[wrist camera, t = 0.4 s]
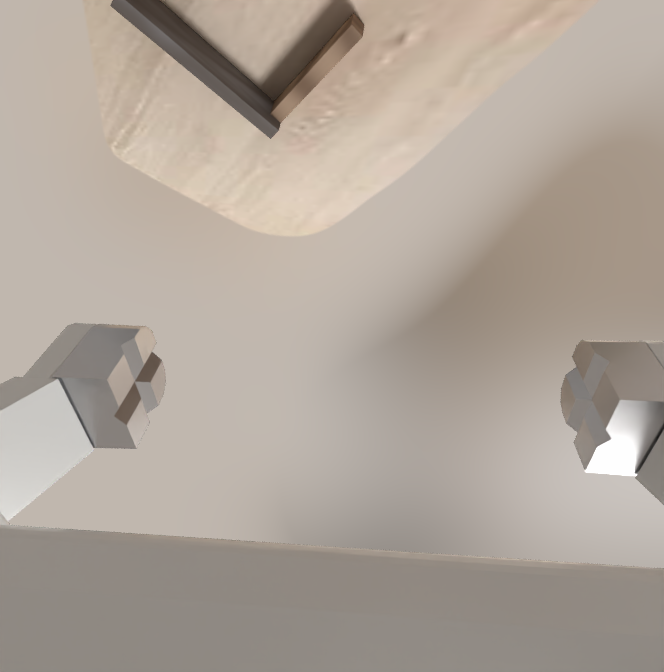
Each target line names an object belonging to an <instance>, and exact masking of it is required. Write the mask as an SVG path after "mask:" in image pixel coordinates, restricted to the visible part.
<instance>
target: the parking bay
mask: <svg viewBox="0 0 664 672" xmlns="http://www.w3.org/2000/svg"><path fill="white" fill-rule="evenodd" d="M110 6H111V7H112V8H114V9H115V10H116V11H117V12H118V13H120V14H121V15H122V16H123V17H125V18H126V19H127V20H128V21H129V22H131V23H132V24H133V25H134V26H135V27H137V28H138V29H139V30H140V31H141V32H143V33H144V34H145V35H146V36H147V37H149V38H150V39H151V40H152V41H153V42H155V43H156V44H157V45H158V46H159V47H161V48H162V49H163V50H164V51H165V52H167V53H168V54H169V55H170V56H171V57H173V58H174V59H175V60H176V61H177V62H179V63H180V64H181V65H182V66H184V67H185V68H186V69H187V70H188V71H190V72H191V73H192V74H193V75H194V76H196V77H197V78H198V79H199V80H200V81H202V82H203V83H204V84H205V85H206V86H208V87H209V88H210V89H211V90H212V91H214V92H215V93H216V94H217V95H218V96H220V97H221V98H222V99H223V100H224V101H226V102H227V103H228V104H229V105H230V106H232V107H233V108H234V109H235V110H237V111H238V112H239V113H240V114H241V115H243V116H244V117H245V118H246V119H247V120H249V121H250V122H251V123H252V124H253V125H255V126H256V127H257V128H258V129H259V130H261V131H262V132H263V133H264V134H265V135H267V136H268V137H269V138H270V139H271V138H272V137H273V136H274V135H275V134H276V133H277V132H278V131H279V127H280V124H281V122H282V121H283V120H284V119H285V118H286V117H287V116H288V115H289V114H290V113H291V112H292V111H293V109H294V108H295V107H296V106H297V105H298V104H299V103H300V102H301V101H302V100H303V99H304V98H305V97H306V96H307V95H308V94H309V93H310V92H311V90H312V89H313V88H314V87H315V86H316V85H317V84H318V83H319V82H320V81H321V80H322V79H323V78H324V77H325V76H326V75H327V74H328V73H329V72H330V70H331V69H332V68H333V67H334V66H335V65H336V64H337V63H338V62H339V61H340V60H341V59H342V58H343V57H344V56H345V55H346V54H347V53H348V51H349V50H350V49H351V48H352V47H353V46H354V45H355V44H356V43H357V42H358V41H359V40H360V39H361V38H362V37H363V30H364V24H363V23H362V22H361V21H360V20H359V19H358V17H357V16H356V15H355V14H354V13H353V14H352V15H351V16H350V18H349V19H348V20H347V21H346V22H345V23H344V24H343V25H342V27H341V28H340V29H339V30H338V31H337V32H336V33H335V34H334V35H333V37H332V38H331V39H330V40H329V41H328V42H327V43H326V44H325V45H324V47H323V48H322V49H321V50H320V51H319V52H318V53H317V54H316V56H315V57H314V58H313V59H312V60H311V61H310V62H309V63H308V64H307V66H306V67H305V68H304V69H303V70H302V71H301V72H300V73H299V74H298V76H297V77H296V78H295V79H294V80H293V81H292V82H291V83H290V85H289V86H288V87H287V88H286V89H285V90H284V91H283V92H282V93H281V95H280V96H279V97H278V98H277V99H276V100H275V101H272V100H271V99H270V98H269V97H268V96H267V95H266V94H264V93H263V92H262V91H261V90H260V89H259V88H258V87H257V86H255V85H254V84H253V83H252V82H251V81H250V80H249V79H248V78H246V77H245V76H244V75H243V74H242V73H241V72H240V71H238V70H237V69H236V68H235V67H234V66H233V65H232V64H231V63H229V62H228V61H227V60H226V59H225V58H224V57H223V56H221V55H220V54H219V53H218V52H217V51H216V50H215V49H214V48H212V47H211V46H210V45H209V44H208V43H207V42H206V41H205V40H203V39H202V38H201V37H200V36H199V35H198V34H197V33H195V32H194V31H193V30H192V29H191V28H190V27H189V26H188V25H186V24H185V23H184V22H183V21H182V20H181V19H180V18H179V17H177V16H176V15H175V14H174V13H173V12H172V11H171V10H169V9H168V8H167V7H166V6H165V5H164V4H163V3H162V2H160V1H159V0H113V1H112V3H111V5H110Z"/></svg>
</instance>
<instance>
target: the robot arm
mask: <svg viewBox="0 0 664 672" xmlns="http://www.w3.org/2000/svg"><path fill="white" fill-rule="evenodd" d="M155 345H156V341H155V338H154V335H153V332H152V330H151V329H149V328H148V327H145V326H128V325H109V324H108V325H107V324H83V323H74V324H71V325H68V326H67V327H66V328H65V329H64V330H63V331H62V332H61V333H60V335H59V336H58V337H57V338H56V339H55V340H54V342H53V343H52V344H51V345H50V346H49V347H48V349H47V350H46V351H45V352H44V353H43V354H42V356H41V357H40V358H39V359H38V360H37V361H36V362H35V364H34V365H33V366H32V367H31V368H30V369H29V371H28V372H27V373H26V374H25V375H24V376H23V377H14V378H12V379H10V380H8V381H6V382H4V383H2V384H0V672H664V568H649V567H634V566H633V567H632V566H618V565H604V564H589V563H573V562H558V561H541V560H527V559H512V558H495V557H481V556H464V555H449V554H433V553H419V552H404V551H388V550H373V549H359V548H343V547H329V546H313V545H300V544H285V543H270V542H269V543H268V542H255V541H240V540H225V539H209V538H195V537H179V536H165V535H149V534H135V533H120V532H105V531H90V530H74V529H60V528H45V527H28V526H15V525H10V524H9V522H8V521H9V520H10V519H11V518H12V517H14V516H15V515H16V514H17V513H18V512H20V511H21V510H22V509H23V508H25V507H26V506H27V505H28V504H29V503H31V502H32V501H33V500H34V499H36V498H37V497H38V496H39V495H40V494H42V493H43V492H44V491H45V490H46V489H48V488H49V487H50V486H51V485H52V484H54V483H55V482H56V481H57V480H58V479H60V478H61V477H62V476H63V475H65V474H66V473H67V472H68V471H69V470H70V469H72V468H73V467H74V466H75V465H77V464H78V463H79V462H80V461H81V460H83V459H84V458H85V457H86V456H88V455H89V454H90V453H91V452H92V451H94V448H124V449H125V448H128V449H137V447H138V445H139V443H140V441H141V439H142V437H143V435H144V433H145V431H146V429H147V427H148V425H149V423H150V421H149V419H148V416H147V413H148V412H149V411H151V410H153V409H154V408H155V407H157V406H158V405H159V403H160V401H161V399H162V397H163V394H164V388H165V382H166V377H165V369H164V366H163V362H162V360H161V359H160V358H159V357H158V356H156V355H155V354H154V353H153V352H152V350H153V348H154V347H155ZM572 357H573V360H574V362H575V364H576V368H574V369H573V370H572V371H570V372H569V373H568V374H566V375H565V378H564V381H563V385H562V388H561V407H562V413H563V416H564V418H565V421H566V423H567V424H568V425H569V426H570V427H572V428H573V429H574V430H575V431H577V432H578V433H577V436H576V438H575V440H574V444H575V447H576V449H577V452H578V454H579V457H580V459H581V462H582V464H583V467H584V469H585V472H593V473H605V474H618V475H632V476H636V477H635V478H636V479H637V480H638V481H639V482H640V483H641V484H642V485H643V486H644V487H645V488H646V489H647V490H648V491H649V492H651V493H652V494H653V495H654V496H655V497H656V498H657V499H658V500H659V501H660V502H661V503H662V504H663V505H664V341H639V342H637V341H636V342H635V341H599V340H581V341H580V342H579V344H578V345H577V346H576V348H575V351H574V354H573V356H572Z"/></svg>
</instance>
